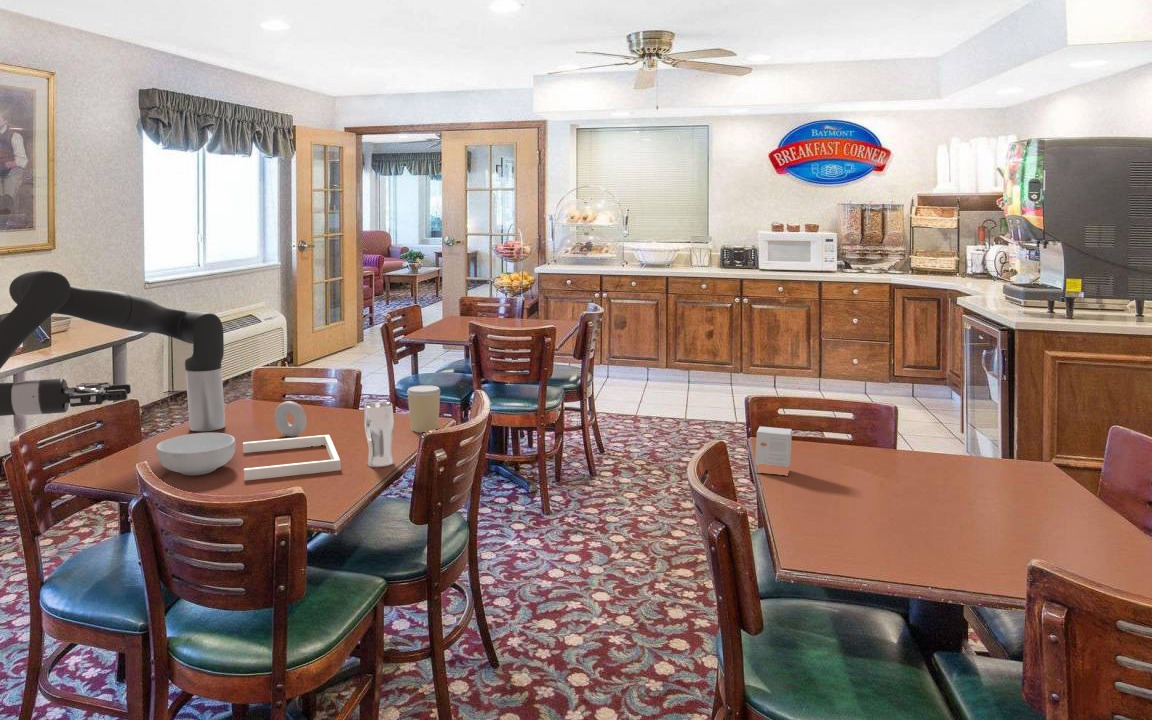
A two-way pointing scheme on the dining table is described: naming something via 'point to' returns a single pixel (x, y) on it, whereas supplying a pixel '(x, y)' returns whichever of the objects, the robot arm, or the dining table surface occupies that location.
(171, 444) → the cereal bowl
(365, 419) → the beer glass
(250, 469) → the bowl bay
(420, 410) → the coffee cup
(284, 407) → the donut
